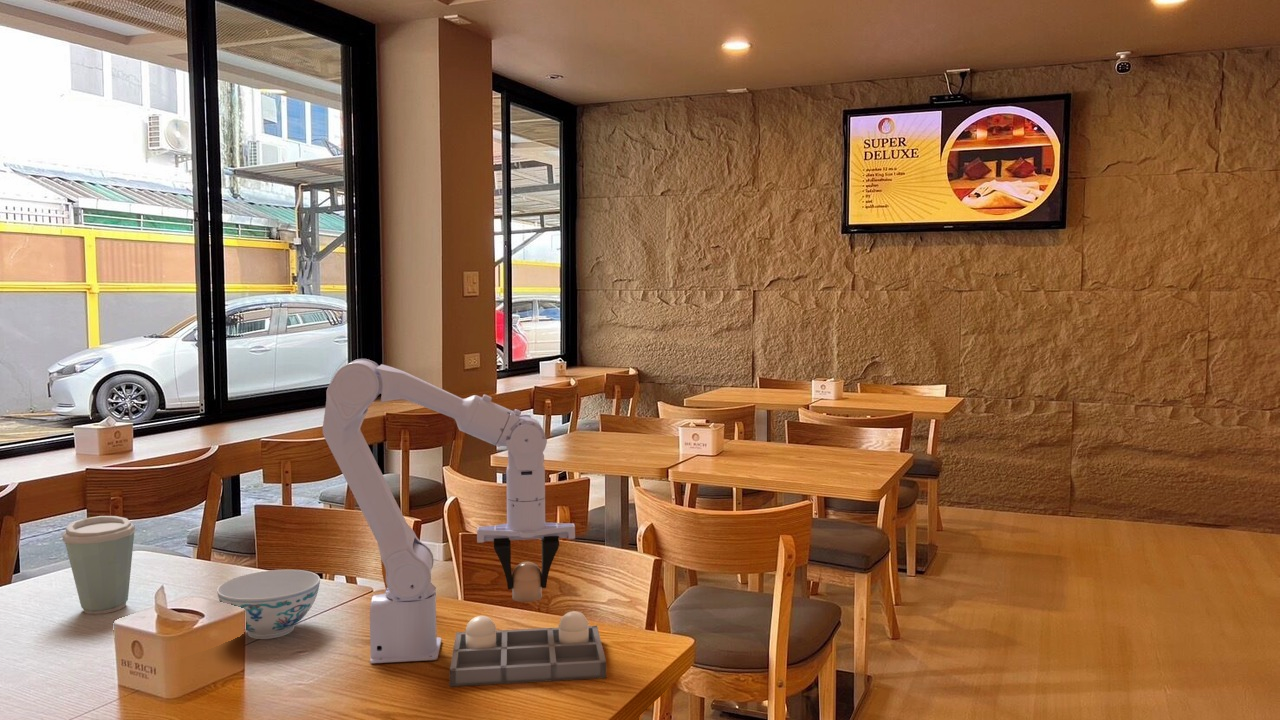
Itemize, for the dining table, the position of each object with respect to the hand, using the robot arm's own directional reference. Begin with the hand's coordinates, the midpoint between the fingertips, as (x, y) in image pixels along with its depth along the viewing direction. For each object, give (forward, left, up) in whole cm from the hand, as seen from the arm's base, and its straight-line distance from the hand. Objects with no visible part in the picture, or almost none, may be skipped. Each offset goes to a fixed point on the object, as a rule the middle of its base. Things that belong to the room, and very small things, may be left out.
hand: (526, 586), depth 140 cm
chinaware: (-40, +11, -9) cm, 43 cm away
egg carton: (0, -7, -9) cm, 11 cm away
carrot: (-22, +21, -9) cm, 32 cm away
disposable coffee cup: (-71, +26, -9) cm, 76 cm away
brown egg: (0, 0, -2) cm, 2 cm away
